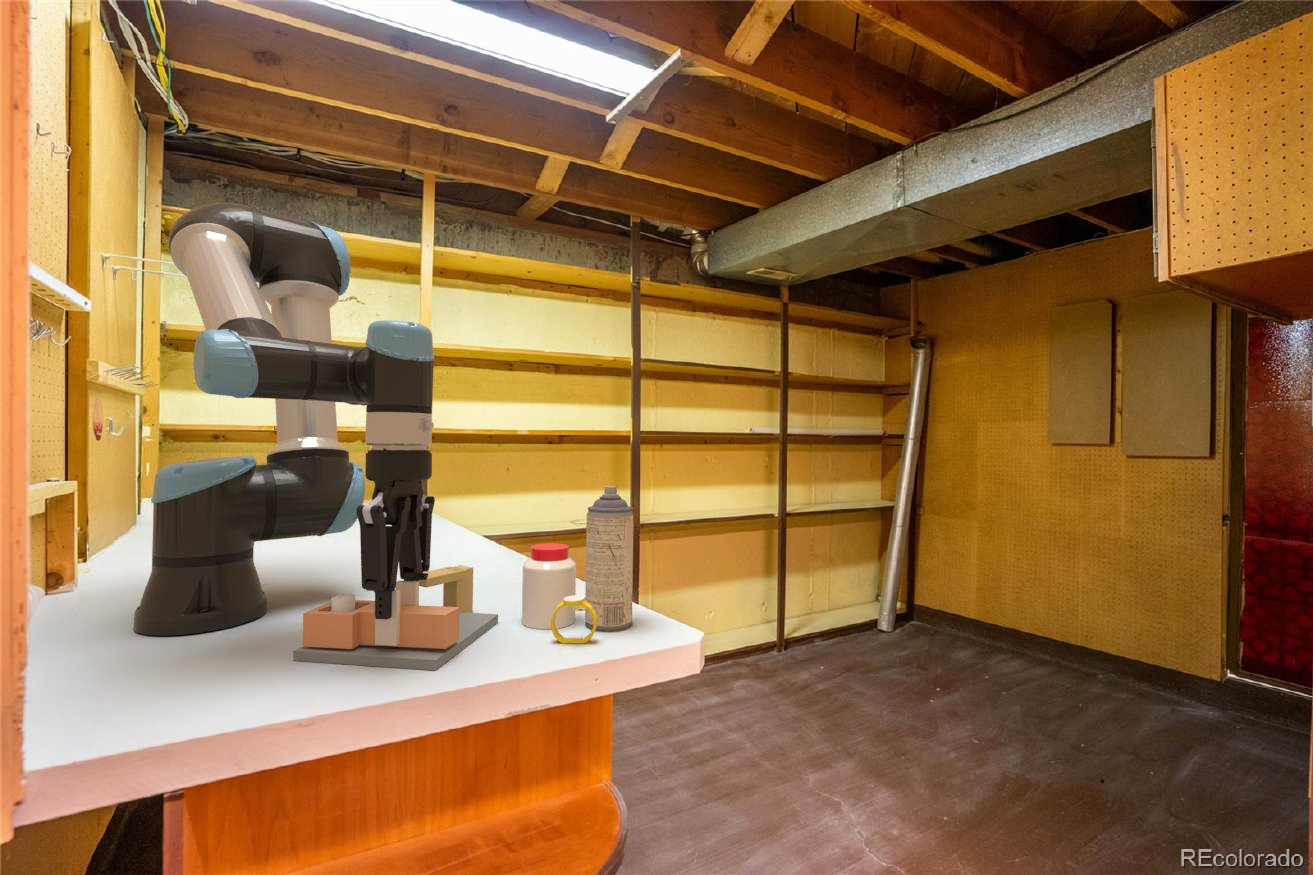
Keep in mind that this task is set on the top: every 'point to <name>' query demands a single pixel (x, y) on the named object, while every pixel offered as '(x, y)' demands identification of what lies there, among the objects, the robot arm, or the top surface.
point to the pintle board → (470, 628)
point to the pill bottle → (548, 586)
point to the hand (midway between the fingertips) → (397, 638)
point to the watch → (573, 602)
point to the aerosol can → (609, 562)
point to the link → (359, 626)
